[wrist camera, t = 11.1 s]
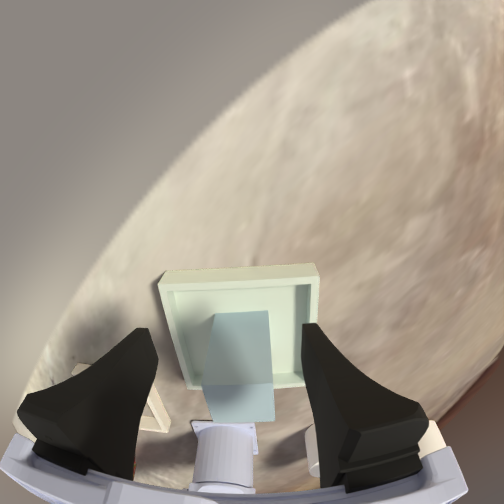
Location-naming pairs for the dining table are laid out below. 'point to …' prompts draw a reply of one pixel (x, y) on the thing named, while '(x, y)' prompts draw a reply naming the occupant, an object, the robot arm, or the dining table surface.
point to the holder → (161, 417)
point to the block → (239, 368)
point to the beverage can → (431, 440)
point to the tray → (241, 300)
